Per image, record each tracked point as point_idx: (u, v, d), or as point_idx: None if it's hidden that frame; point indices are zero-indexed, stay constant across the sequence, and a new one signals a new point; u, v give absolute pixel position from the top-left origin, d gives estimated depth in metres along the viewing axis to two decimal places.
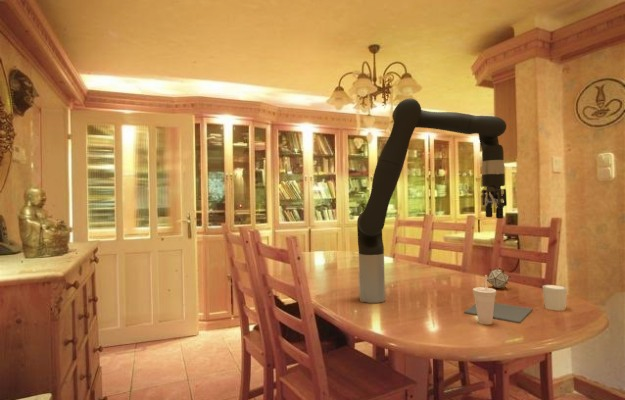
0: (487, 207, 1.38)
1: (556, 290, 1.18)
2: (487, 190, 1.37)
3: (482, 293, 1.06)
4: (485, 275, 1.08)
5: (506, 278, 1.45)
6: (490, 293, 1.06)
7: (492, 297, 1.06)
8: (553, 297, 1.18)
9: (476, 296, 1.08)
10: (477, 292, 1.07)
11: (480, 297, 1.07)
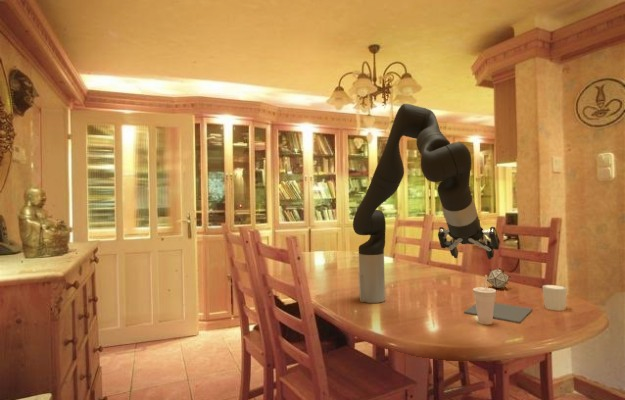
0: None
1: (556, 290, 1.18)
2: None
3: (482, 293, 1.06)
4: (485, 275, 1.08)
5: (506, 278, 1.45)
6: (490, 293, 1.06)
7: (492, 297, 1.06)
8: (553, 297, 1.18)
9: (476, 296, 1.08)
10: (477, 292, 1.07)
11: (480, 297, 1.07)
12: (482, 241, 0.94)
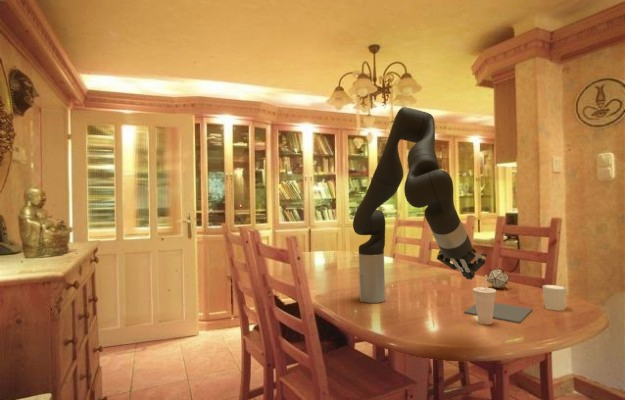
0: None
1: (556, 290, 1.18)
2: None
3: (482, 293, 1.06)
4: (485, 275, 1.08)
5: (506, 278, 1.45)
6: (490, 293, 1.06)
7: (492, 297, 1.06)
8: (553, 297, 1.18)
9: (476, 296, 1.08)
10: (477, 292, 1.07)
11: (480, 297, 1.07)
12: (467, 263, 0.96)
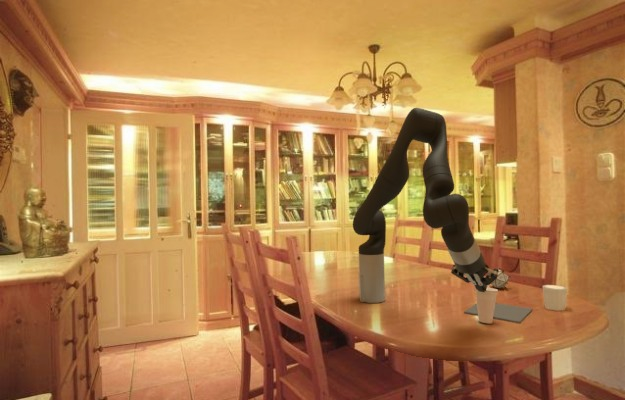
0: None
1: (556, 290, 1.18)
2: None
3: None
4: None
5: (506, 278, 1.45)
6: (492, 291, 1.06)
7: (494, 296, 1.07)
8: (553, 297, 1.18)
9: (478, 294, 1.09)
10: None
11: (482, 295, 1.08)
12: None
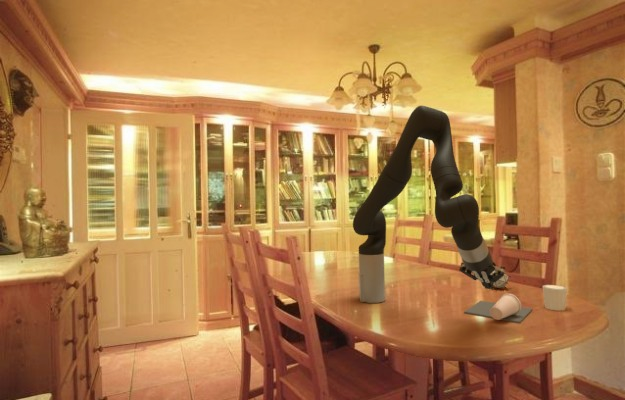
0: None
1: (556, 290, 1.18)
2: None
3: (519, 302, 1.11)
4: None
5: (506, 278, 1.45)
6: (520, 308, 1.12)
7: (516, 311, 1.11)
8: (553, 297, 1.18)
9: (511, 298, 1.12)
10: (516, 297, 1.12)
11: (515, 301, 1.11)
12: None
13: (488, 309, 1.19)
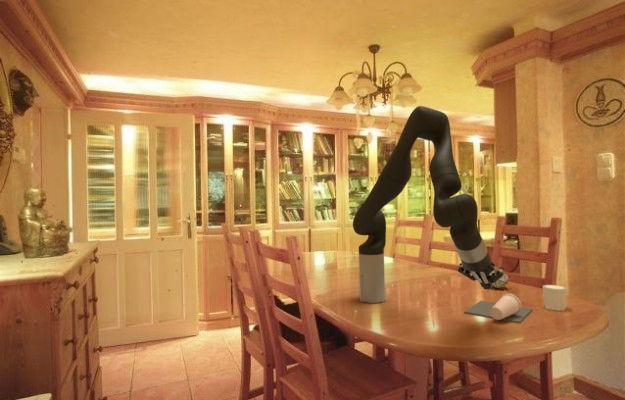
0: None
1: (556, 290, 1.18)
2: None
3: (519, 302, 1.11)
4: None
5: (506, 278, 1.45)
6: (520, 309, 1.12)
7: (516, 312, 1.11)
8: (553, 297, 1.18)
9: (512, 298, 1.12)
10: (516, 298, 1.12)
11: (515, 301, 1.11)
12: None
13: (488, 309, 1.19)
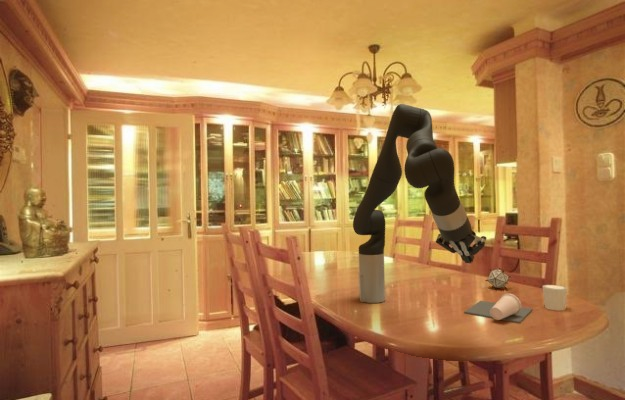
0: None
1: (556, 290, 1.18)
2: None
3: (519, 302, 1.11)
4: None
5: (506, 278, 1.45)
6: (520, 309, 1.12)
7: (516, 312, 1.11)
8: (553, 297, 1.18)
9: (512, 298, 1.12)
10: (516, 298, 1.12)
11: (515, 301, 1.11)
12: (467, 246, 0.95)
13: (488, 309, 1.19)
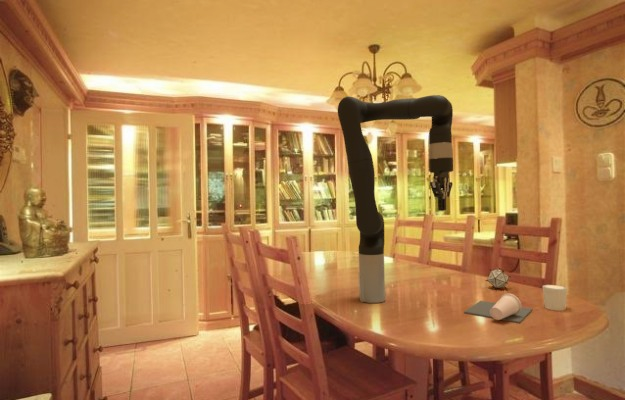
0: None
1: (556, 290, 1.18)
2: None
3: (519, 302, 1.11)
4: None
5: (506, 278, 1.45)
6: (520, 309, 1.12)
7: (516, 312, 1.11)
8: (553, 297, 1.18)
9: (512, 298, 1.12)
10: (516, 298, 1.12)
11: (515, 301, 1.11)
12: None
13: (488, 309, 1.19)
